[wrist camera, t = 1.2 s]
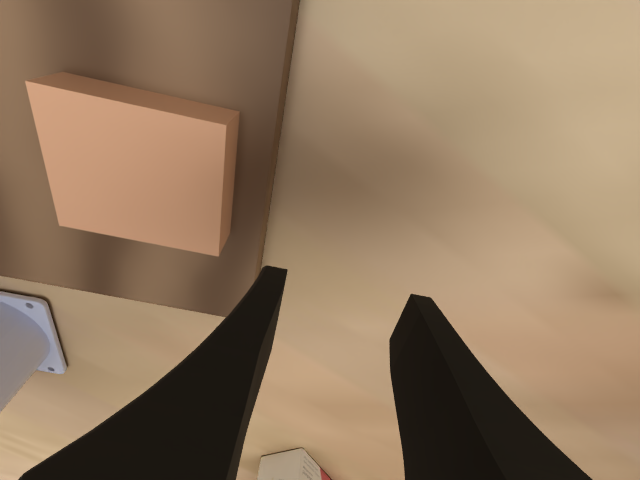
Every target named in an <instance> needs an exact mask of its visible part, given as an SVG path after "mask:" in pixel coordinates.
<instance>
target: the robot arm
mask: <svg viewBox="0 0 640 480" xmlns="http://www.w3.org/2000/svg"><path fill="white" fill-rule="evenodd" d="M286 275H287V269H282V268H277V267H272V266H265V267H263V268H262V270H261V272H260V274H259V275H258V277H257V279H256V280H255V282H254V283H253V285H252V286H251V287H250V289H249V290H248V292H247V293H246V294H245V296H244V297H243V298H242V299H241V300H240V302H239V303H238V304H237V305H236V307H235V308H234V309H233V310H232V311H231V313H230V314H229V315H228V316H227V317H226V318H225V319H224V320H223V321H222V322H221V324H220V325H219V326H218V327H217V328H216V329H215V330H214V331H213V332H212V333H211V334H210V335H209V336H208V337H207V338H206V339H205V340H204V341H203V342H202V343H201V344H200V345H199V346H198V347H197V348H196V349H195V350H194V351H193V352H192V353H191V354H189V355H188V356H187V357H186V358H185V359H184V360H183V361H182V362H181V363H179V364H178V365H177V366H176V367H175V368H174V369H172V370H171V371H170V372H169V373H168V374H166V375H165V376H164V377H163V378H162V379H160V380H159V381H158V382H157V383H155V384H154V385H153V386H152V387H150V388H149V389H148V390H147V391H145V392H144V393H143V394H141V395H140V396H139V397H137V398H136V399H135V400H133V401H132V402H130V403H129V404H128V405H126V406H125V407H123V408H122V409H121V410H119V411H118V412H117V413H115V414H114V415H112V416H111V417H110V418H108V419H107V420H105V421H104V422H103V423H101V424H100V425H98V426H97V427H95V428H94V429H92V430H91V431H89V432H88V433H86V434H85V435H83V436H82V437H80V438H79V439H77V440H76V441H74V442H72V443H71V444H69V445H68V446H66V447H64V448H63V449H61V450H60V451H58V452H57V453H55V454H53V455H52V456H50V457H49V458H47V459H46V460H44V461H42V462H41V463H39V464H38V465H36V466H35V467H33V468H31V469H30V470H28V471H27V472H25V473H24V474H23V475H22V476H21V477H20V478H19V479H18V480H236V476H237V471H238V467H239V462H240V458H241V453H242V449H243V444H244V440H245V436H246V432H247V428H248V425H249V421H250V418H251V415H252V412H253V408H254V405H255V402H256V399H257V395H258V392H259V389H260V386H261V382H262V379H263V376H264V373H265V369H266V366H267V363H268V360H269V356H270V353H271V350H272V345H273V340H274V335H275V330H276V325H277V321H278V316H279V311H280V306H281V301H282V296H283V290H284V285H285V280H286ZM36 370H39V371H45V372H51V373H57V374H63V373H64V372H65V371H66V370H67V366H66V363H65V360H64V356H63V353H62V350H61V346H60V343H59V340H58V336H57V333H56V330H55V326H54V323H53V320H52V316H51V313H50V310H49V306H48V304H47V302H46V301H45V300H43V299H40V298H35V297H29V296H24V295H18V294H13V293H7V292H2V291H0V412H1V411H2V410H3V409H4V407H5V406H6V405H7V404H8V403H9V402H10V400H11V399H12V398H13V397H14V396H15V394H16V393H17V392H18V391H19V390H20V388H21V387H22V386H23V385H24V384H25V382H26V381H27V380H28V379H29V378H30V377H31V375H32V374H33V373H34V372H35V371H36ZM390 373H391V380H392V387H393V393H394V400H395V406H396V412H397V419H398V425H399V431H400V438H401V444H402V451H403V460H404V470H405V480H592V479H591V478H590V477H589V476H588V475H587V474H586V473H584V472H583V471H582V470H581V469H580V468H579V467H578V466H577V465H576V464H575V463H574V462H572V461H571V460H570V459H569V458H568V457H567V456H566V455H565V454H564V453H563V452H562V451H561V450H560V449H559V448H557V447H556V446H555V445H554V444H553V443H552V442H551V441H550V440H549V439H548V438H547V437H546V436H545V435H544V434H543V433H542V432H541V431H540V430H539V429H538V428H537V427H536V426H535V425H534V424H533V423H532V422H531V421H530V419H529V418H528V417H527V416H526V415H525V414H524V413H523V412H522V411H521V410H520V409H519V408H518V407H517V406H516V405H515V404H514V403H513V401H512V400H511V399H510V398H509V397H508V396H507V395H506V394H505V392H504V391H503V390H502V389H501V388H500V387H499V385H498V384H497V383H496V382H495V381H494V379H493V378H492V377H491V376H490V375H489V374H488V372H487V371H486V370H485V369H484V367H483V366H482V365H481V364H480V362H479V361H478V360H477V359H476V357H475V356H474V355H473V354H472V352H471V351H470V350H469V348H468V347H467V346H466V344H465V343H464V342H463V340H462V339H461V338H460V336H459V335H458V334H457V332H456V331H455V330H454V328H453V327H452V325H451V324H450V323H449V321H448V320H447V319H446V317H445V316H444V315H443V313H442V312H441V310H440V309H439V308H438V306H437V305H436V304H435V302H434V301H433V300H432V299H431V298H430V297H425V296H420V295H415V294H411V295H410V297H409V299H408V301H407V303H406V306H405V308H404V310H403V312H402V314H401V316H400V318H399V320H398V323H397V325H396V327H395V329H394V331H393V333H392V335H391V338H390Z"/></svg>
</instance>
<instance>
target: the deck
mask: <svg viewBox="0 0 640 480" xmlns="http://www.w3.org/2000/svg"><path fill="white" fill-rule="evenodd" d="M299 2H300V0H0V276H5V277H11V278H16V279H22V280H27V281H32V282H38V283H43V284H49V285H54V286H60V287H65V288H70V289H76V290H81V291H87V292H92V293H98V294H103V295H108V296H114V297H119V298H125V299H130V300H136V301H141V302H146V303H152V304H157V305H163V306H168V307H174V308H179V309H184V310H190V311H195V312H201V313H206V314H212V315H217V316H222V317H227V316H228V315H229V314H230V313H231V311H232V310H233V309H234V308H235V307H236V305H237V304H238V303H239V302H240V300H241V299H242V298H243V297H244V296H245V294H246V293H247V292H248V290H249V289H250V287H251V286H252V285H253V283H254V282H255V280H256V279H257V277H258V275H259V274H260V271H261V264H262V257H263V250H264V243H265V236H266V229H267V223H268V216H269V209H270V202H271V195H272V188H273V181H274V174H275V168H276V161H277V154H278V147H279V140H280V133H281V126H282V119H283V113H284V106H285V99H286V92H287V85H288V78H289V71H290V64H291V58H292V51H293V44H294V37H295V30H296V23H297V16H298V9H299ZM60 72H66V73H70V74H75V75H79V76H84V77H88V78H93V79H97V80H102V81H106V82H111V83H115V84H119V85H124V86H128V87H133V88H137V89H142V90H146V91H151V92H155V93H160V94H164V95H169V96H173V97H177V98H182V99H186V100H191V101H195V102H200V103H204V104H209V105H213V106H218V107H222V108H227V109H231V110H236V111H240V115H239V128H238V140H237V153H236V166H235V179H234V191H233V204H232V217H231V229H230V234H229V237H228V239H227V241H226V243H225V245H224V247H223V249H222V251H221V253H220V255H219V257H218V256H213V255H208V254H202V253H197V252H192V251H187V250H182V249H177V248H172V247H167V246H161V245H156V244H151V243H146V242H141V241H136V240H131V239H126V238H121V237H115V236H110V235H105V234H100V233H95V232H90V231H85V230H80V229H75V228H69V227H64V226H59V223H58V218H57V214H56V210H55V206H54V202H53V197H52V193H51V189H50V185H49V180H48V176H47V172H46V168H45V163H44V159H43V155H42V151H41V147H40V142H39V138H38V134H37V130H36V125H35V121H34V117H33V113H32V109H31V104H30V100H29V96H28V92H27V87H26V83H25V81H26V80H31V79H35V78H39V77H43V76H47V75H51V74H56V73H60Z"/></svg>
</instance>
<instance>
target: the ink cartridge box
mask: <svg viewBox="0 0 640 480" xmlns="http://www.w3.org/2000/svg"><path fill="white" fill-rule="evenodd" d="M257 480H331V479H330V478H329V477H328V476H327V475H326V474H325V472H324V471H323V470H322V469H321V468H320V467H319V466H318V465H317V463H316V462H315V461H314V460H313V459H312V458H311V457H310V456H309V455H308V454H307V452H306V451H305V450H304V449H303V448H300V449H295V450H290V451H286V452H281V453H276V454H272V455H267V456H263V457H261V461H260V466H259V472H258V477H257Z"/></svg>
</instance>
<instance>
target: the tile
mask: <svg viewBox="0 0 640 480" xmlns="http://www.w3.org/2000/svg"><path fill="white" fill-rule="evenodd" d="M25 83H26V87H27V92H28V96H29V100H30V104H31V109H32V113H33V117H34V121H35V125H36V130H37V134H38V138H39V142H40V147H41V151H42V155H43V159H44V163H45V168H46V172H47V176H48V180H49V185H50V189H51V193H52V197H53V202H54V206H55V210H56V214H57V218H58V223H59V226H64V227H69V228H75V229H80V230H85V231H90V232H95V233H100V234H105V235H110V236H115V237H121V238H126V239H131V240H136V241H141V242H146V243H151V244H156V245H161V246H167V247H172V248H177V249H182V250H187V251H192V252H197V253H202V254H208V255H213V256H218V257H219V255H220V253H221V251H222V249H223V247H224V245H225V243H226V241H227V239H228V237H229V234H230V229H231V217H232V204H233V191H234V179H235V166H236V153H237V140H238V128H239V115H240V111H236V110H231V109H227V108H222V107H218V106H213V105H209V104H204V103H200V102H195V101H191V100H186V99H182V98H177V97H173V96H169V95H164V94H160V93H155V92H151V91H146V90H142V89H137V88H133V87H128V86H124V85H119V84H115V83H111V82H106V81H102V80H97V79H93V78H88V77H84V76H79V75H75V74H70V73H66V72H60V73H56V74H51V75H47V76H43V77H39V78H35V79H31V80H26V81H25Z"/></svg>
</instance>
